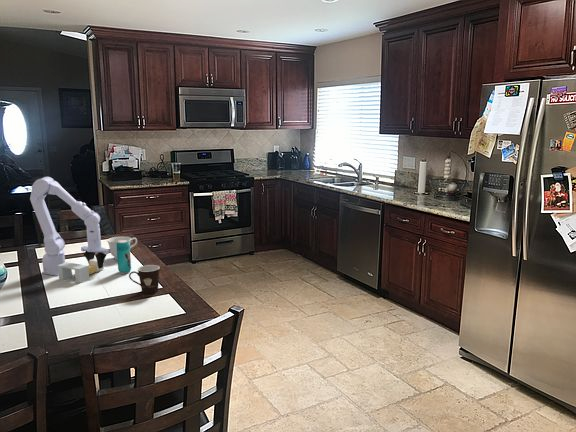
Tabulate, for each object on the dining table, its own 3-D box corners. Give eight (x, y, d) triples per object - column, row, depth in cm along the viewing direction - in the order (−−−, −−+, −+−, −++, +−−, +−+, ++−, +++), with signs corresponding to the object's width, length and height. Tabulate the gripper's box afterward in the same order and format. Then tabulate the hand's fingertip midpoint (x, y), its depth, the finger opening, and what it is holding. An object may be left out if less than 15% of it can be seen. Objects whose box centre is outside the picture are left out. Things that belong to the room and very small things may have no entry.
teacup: (141, 258, 240) (140, 239, 238) (111, 263, 232) (110, 243, 230) (134, 252, 250) (133, 234, 248) (105, 257, 242) (104, 238, 240)
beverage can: (127, 274, 215) (125, 243, 212) (115, 273, 217) (113, 242, 213) (133, 270, 221) (131, 239, 218) (122, 269, 222) (120, 239, 219)
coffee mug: (164, 289, 198) (163, 266, 196) (152, 296, 190) (151, 272, 188) (141, 285, 202) (140, 263, 199) (128, 292, 194) (127, 269, 192)
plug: (77, 276, 212) (76, 265, 211) (96, 268, 223) (95, 258, 222) (84, 277, 211) (83, 266, 210) (103, 269, 222) (102, 259, 221)
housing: (58, 279, 209) (57, 265, 207) (68, 275, 213) (66, 262, 212) (80, 283, 204) (78, 268, 203) (89, 279, 208) (87, 265, 207)
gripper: (75, 239, 216) (77, 267, 219) (100, 242, 211) (102, 271, 214) (86, 236, 223) (88, 263, 225) (111, 239, 218) (113, 267, 220)
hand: (96, 267), depth 220 cm, fingers closed on plug, 4 cm apart
